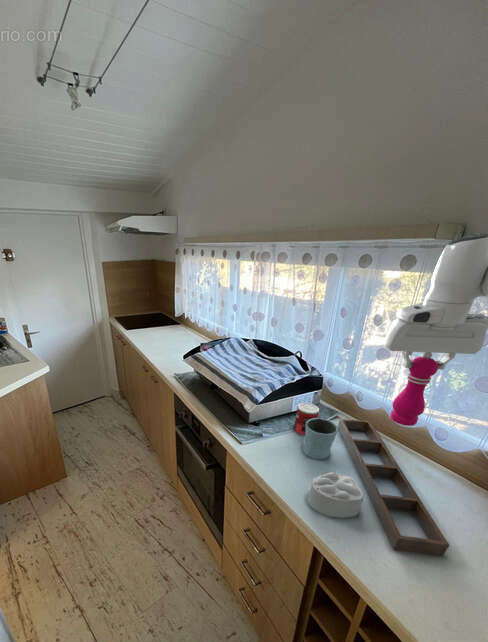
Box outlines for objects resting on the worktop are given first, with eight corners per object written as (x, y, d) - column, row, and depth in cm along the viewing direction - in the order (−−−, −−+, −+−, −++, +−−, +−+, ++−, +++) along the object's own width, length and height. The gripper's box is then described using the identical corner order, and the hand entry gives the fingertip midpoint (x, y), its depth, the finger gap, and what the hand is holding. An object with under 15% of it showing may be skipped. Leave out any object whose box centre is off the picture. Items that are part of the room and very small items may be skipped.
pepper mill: (417, 417, 86) (444, 349, 77) (419, 429, 81) (449, 358, 71) (388, 411, 90) (410, 345, 80) (387, 422, 84) (412, 353, 75)
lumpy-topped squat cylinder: (361, 519, 84) (370, 496, 80) (314, 519, 84) (320, 496, 80) (345, 491, 93) (352, 469, 89) (302, 491, 93) (307, 469, 89)
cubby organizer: (366, 431, 121) (370, 421, 119) (441, 558, 74) (449, 545, 71) (337, 429, 123) (340, 418, 121) (391, 551, 75) (398, 538, 73)
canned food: (300, 423, 127) (304, 400, 122) (318, 432, 121) (323, 408, 116) (289, 430, 123) (293, 406, 117) (307, 439, 117) (312, 415, 112)
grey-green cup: (328, 447, 113) (335, 419, 107) (332, 464, 104) (340, 435, 98) (299, 443, 115) (305, 416, 109) (301, 460, 106) (307, 431, 101)
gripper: (484, 311, 72) (460, 365, 79) (390, 309, 76) (375, 361, 82) (503, 317, 67) (476, 375, 73) (402, 315, 70) (384, 370, 77)
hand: (422, 368), depth 78 cm, fingers closed on pepper mill, 6 cm apart
